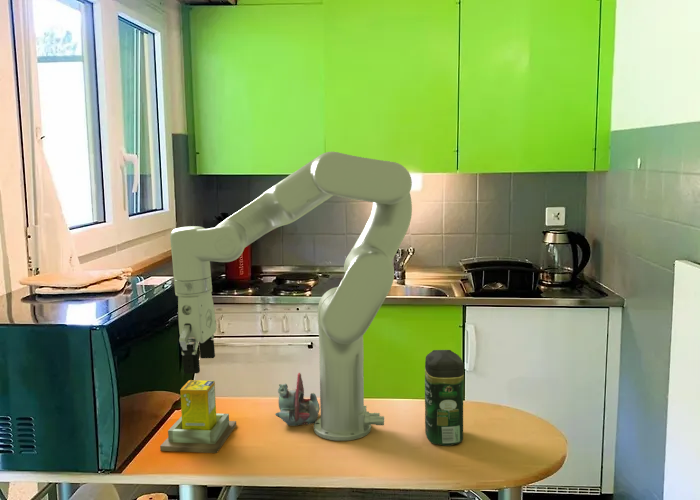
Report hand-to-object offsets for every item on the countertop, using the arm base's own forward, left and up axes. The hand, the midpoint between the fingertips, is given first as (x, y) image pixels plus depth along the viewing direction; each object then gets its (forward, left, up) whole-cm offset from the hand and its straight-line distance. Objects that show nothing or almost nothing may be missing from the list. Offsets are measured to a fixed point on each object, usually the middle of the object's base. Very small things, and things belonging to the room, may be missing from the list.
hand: (200, 365), depth 145 cm
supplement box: (+1, 0, -15) cm, 15 cm away
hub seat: (+1, 0, -16) cm, 16 cm away
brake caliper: (-18, -12, -16) cm, 27 cm away
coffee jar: (-51, -5, -16) cm, 54 cm away
